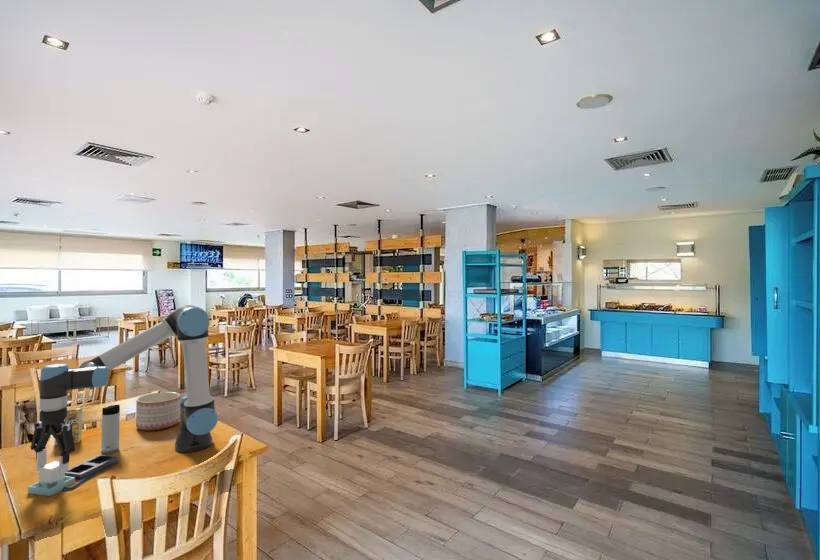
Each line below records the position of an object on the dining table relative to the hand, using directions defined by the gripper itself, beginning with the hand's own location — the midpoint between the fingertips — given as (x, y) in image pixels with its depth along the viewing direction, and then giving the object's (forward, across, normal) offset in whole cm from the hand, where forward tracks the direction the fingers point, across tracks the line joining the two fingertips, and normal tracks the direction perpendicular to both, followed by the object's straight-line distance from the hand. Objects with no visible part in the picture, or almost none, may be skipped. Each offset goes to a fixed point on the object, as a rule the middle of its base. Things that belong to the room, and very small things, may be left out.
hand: (52, 470), depth 146 cm
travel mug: (+7, +9, -31) cm, 33 cm away
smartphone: (+7, -2, -7) cm, 10 cm away
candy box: (+7, +35, -34) cm, 49 cm away
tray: (+7, 0, 0) cm, 7 cm away
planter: (+7, +13, -62) cm, 64 cm away
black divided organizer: (+7, 0, -14) cm, 16 cm away
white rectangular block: (+6, 0, 0) cm, 6 cm away
